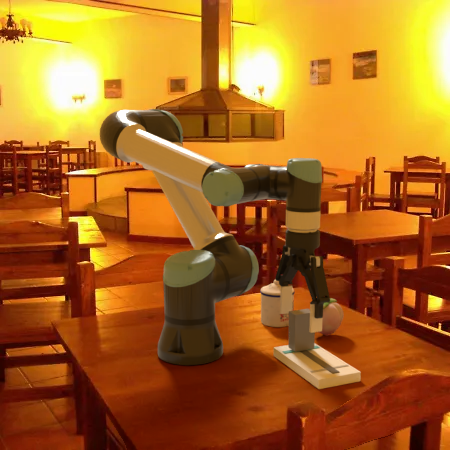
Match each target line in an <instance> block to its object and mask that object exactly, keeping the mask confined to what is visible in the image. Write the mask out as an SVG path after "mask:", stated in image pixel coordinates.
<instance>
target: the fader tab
mask: <svg viewBox="0 0 450 450" xmlns="http://www.w3.org/2000/svg"><path fill="white" fill-rule="evenodd" d="M309 328H310V308H303V309H302V308H301V309H296V310H294V311H289V326H288V344H287V345H288V347H289V348H290V349H292V350H293V351H295V352H296V351H302V350H308V349H314V343H315V339H316V337H315V333H316V332H313V333H311V332H309Z"/></svg>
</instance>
